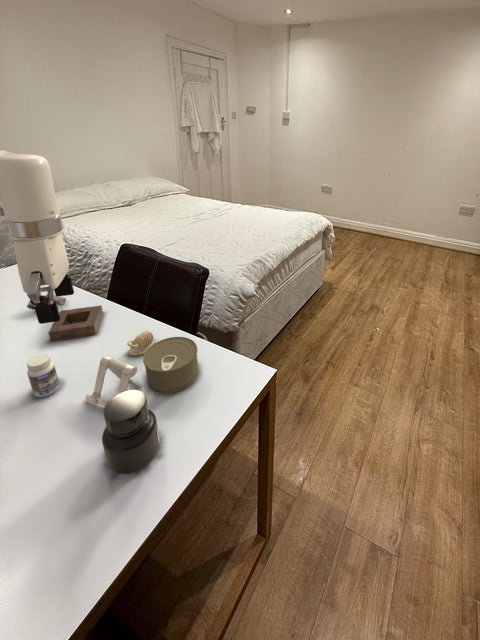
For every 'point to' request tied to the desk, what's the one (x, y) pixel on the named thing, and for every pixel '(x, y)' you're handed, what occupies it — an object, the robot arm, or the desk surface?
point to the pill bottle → (42, 375)
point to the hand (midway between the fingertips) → (58, 307)
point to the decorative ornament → (141, 343)
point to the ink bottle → (129, 432)
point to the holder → (90, 327)
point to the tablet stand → (119, 370)
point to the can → (171, 365)
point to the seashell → (58, 300)
